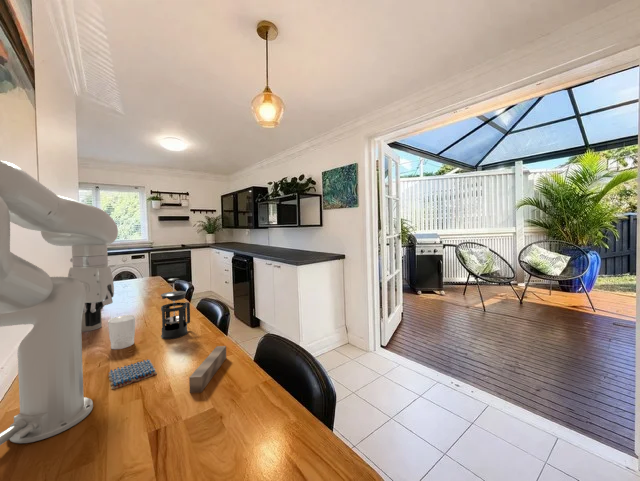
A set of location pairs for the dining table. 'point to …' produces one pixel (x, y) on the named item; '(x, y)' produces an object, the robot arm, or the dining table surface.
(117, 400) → the dining table surface
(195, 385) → the bar
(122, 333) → the white cup
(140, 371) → the woven mat
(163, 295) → the french press
